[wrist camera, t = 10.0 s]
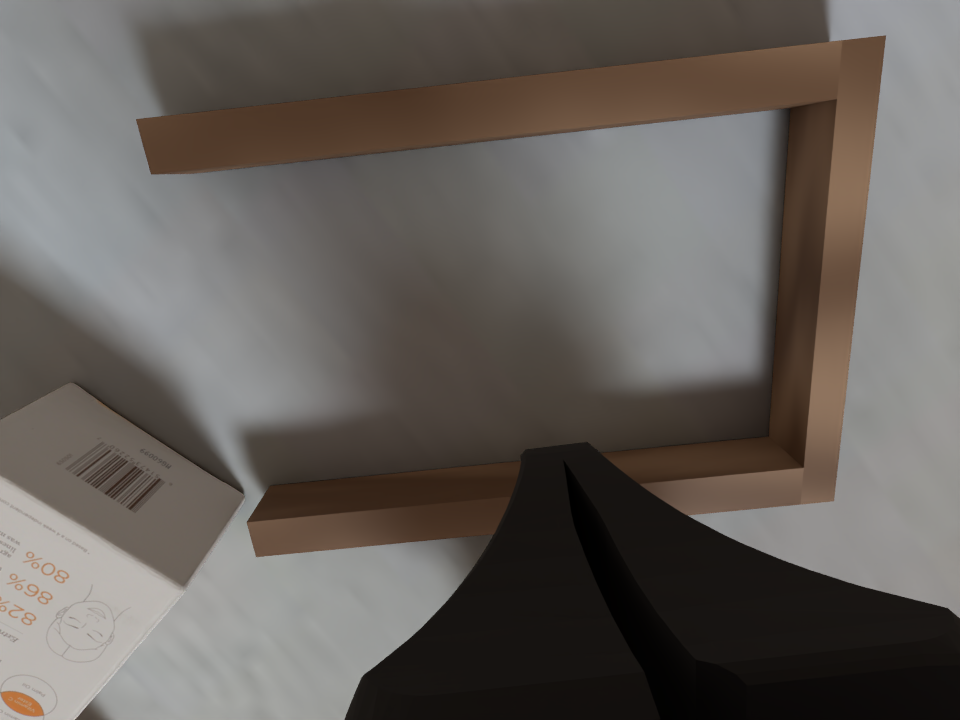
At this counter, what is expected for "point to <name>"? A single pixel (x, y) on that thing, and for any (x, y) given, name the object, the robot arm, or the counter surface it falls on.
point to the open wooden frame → (578, 107)
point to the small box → (91, 547)
